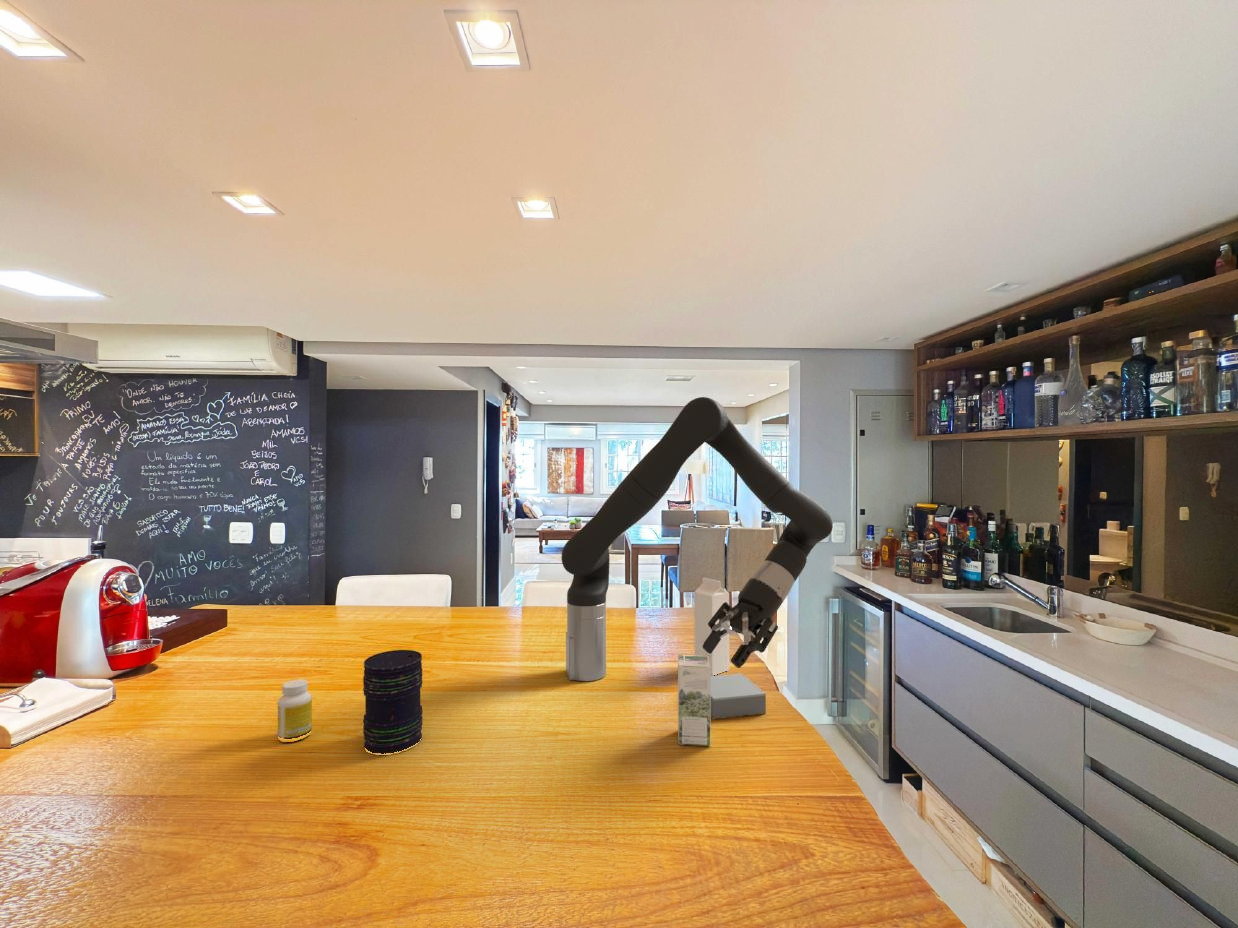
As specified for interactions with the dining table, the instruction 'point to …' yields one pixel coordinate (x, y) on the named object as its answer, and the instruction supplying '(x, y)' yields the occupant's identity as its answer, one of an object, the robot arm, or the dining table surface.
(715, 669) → the milk
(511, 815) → the dining table surface
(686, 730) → the syrup box
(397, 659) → the storage jar
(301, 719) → the supplement bottle
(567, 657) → the robot arm
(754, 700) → the podium
